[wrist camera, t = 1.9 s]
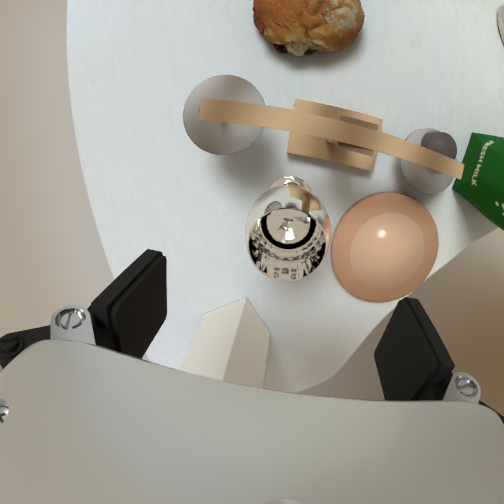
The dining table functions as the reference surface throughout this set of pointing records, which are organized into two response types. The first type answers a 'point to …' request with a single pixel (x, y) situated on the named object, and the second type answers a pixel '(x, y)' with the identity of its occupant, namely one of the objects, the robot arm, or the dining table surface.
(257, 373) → the milk
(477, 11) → the dining table surface
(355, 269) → the dish
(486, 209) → the milk carton
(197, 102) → the balance
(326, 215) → the wineglass
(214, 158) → the dining table surface
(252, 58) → the dining table surface
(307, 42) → the bread roll
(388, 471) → the robot arm
